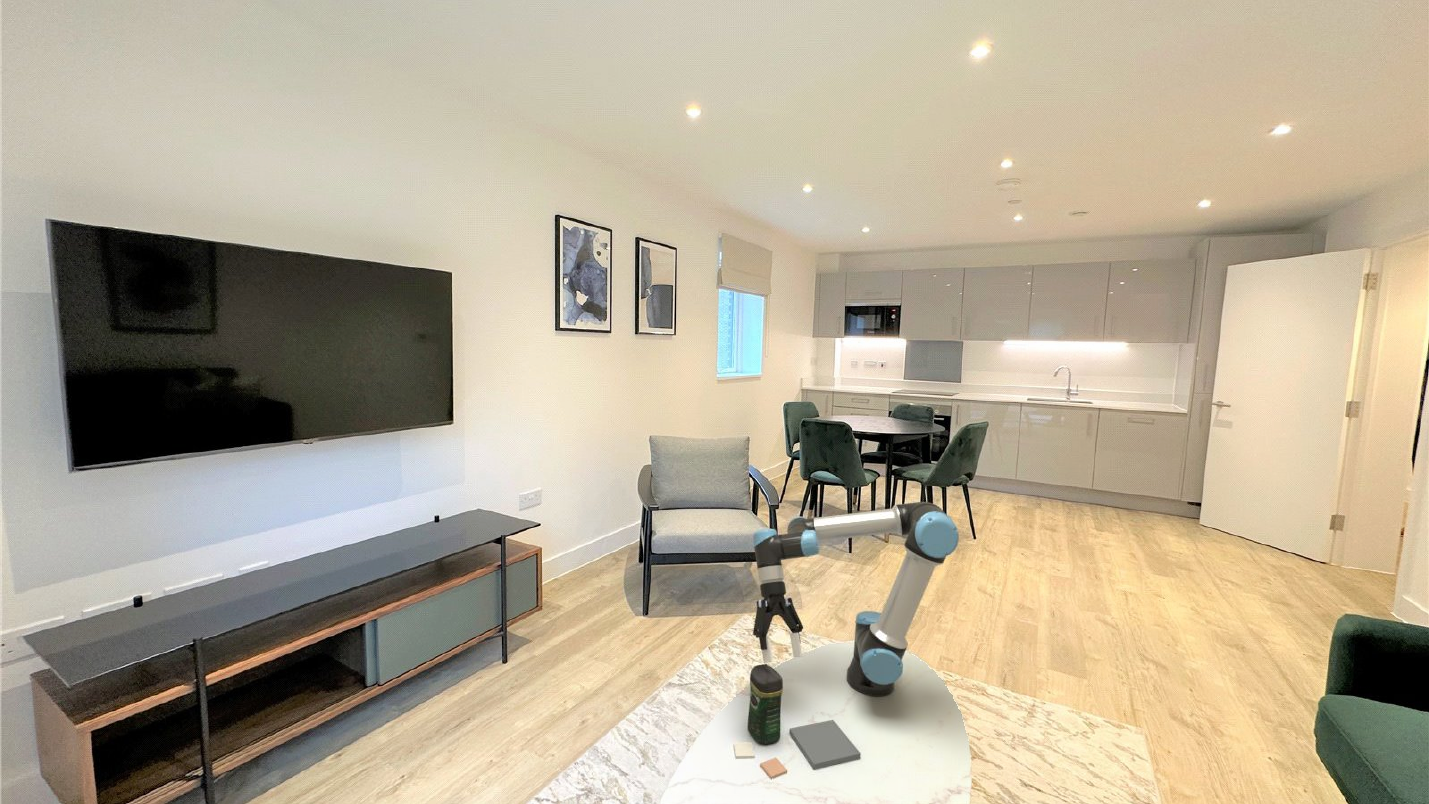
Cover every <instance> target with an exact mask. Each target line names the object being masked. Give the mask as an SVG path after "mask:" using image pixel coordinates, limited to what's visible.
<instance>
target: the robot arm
mask: <svg viewBox="0 0 1429 804" xmlns="http://www.w3.org/2000/svg"><path fill="white" fill-rule="evenodd" d="M786 531H787V533H785V534H778V532H777V530H776V529H774V528H767V529H766V528H765V529H760V530H756V531H755V532H754V533H753V545H754V546H753V548H754V549H753V550H754V555H755V561H756V567H757V573H758V581H759V583H761V584H760V585H759V590H760V596H761V598H763V599H759V600H756V611H755V612H756V613H755V617H754V618H755V619H754V623H753V624H754V625H753V632H752V635H753V636H755V638H758V640H759V645H760V649H761V650H760V651H761V652H762V660H763V662H762V663H763V664H767V663H768V664H769V663H773V662H774V661H773V656H772V655H773V653H772V648H771V642H770V641H771V640H770V636H768V633H769V629H770V627H771V624H772V621H773V618H774V617H775V616H779V617H780V618H781V619H782V620H783V621H784V624H785V625H786V626H787V628H788V629H789V630H790V632H791V633H789V637H790V643H791V648H792V649H791V650H792V657H793V658H802V657H803V653H802V652H803V651H802V645H801V636H800V633H802V631H803V630H804V626H803V623H802V621H801V619H800V616H799V615H798V612H797V611H796V610H797V609H796V608H795V606H794V603H793V598H791V597H786V598H785V595H786V594H787V589H786V582H785V581H783V580H785V575H784V570H783V565H782V561H784V560H791V559H799V558H805V557H806V558H808V557H812V556H817V555H819V553H820V547H819V542H822V541H825V542H826V541H833V540H841V539H851V538H862V537H869V536H877V535H887V534H898V535H899V536H906V539H905V542H904V544H903V546H904V549H905V551H906V553H905V556H904V557H903V561H902V563H901V564H900V565H901V566H900V568H899V570H898V573H897V575H896V576H895V577H896V578H895V580H894V581H893V585H892V587H891V590H889V594H888V596H887V599H886V601H885V604H884V606H883V609H882V611H881V612H878V611H874V610H873V611H872V610H871V611H870V610H865V611H860V612H858V613H857V614H856V617H855V627H854V628H855V629H854V630H855V631H854V642H853V643H854V644H853V656H852V659H851V661H850V664H849V666H848V668H847V669H846V682H847V683H848V684H849V686H850V687H851V688H852V689H854V690H855V691H857V692H858V693H861V694H864V695H867V696H871V697H884V696H887V695H890V694H891V693H892V692H893V691H894V690H895V682H897V681H898V680H899V679H900V678H901V677H902V674H903V671H904V664H903V658H904V655H905V653H906V651H907V648H908V646H909V644H908V641H907V639H906V636H907V635H908V632H909V629H910V628H911V624H912V622H913V620H914V618H915V615H916V613H917V611H918V608H919V606H920V604H921V602H922V599H923V596H924V594H925V593H926V590H927V587H928V585H929V583H930V580H931V578H932V576H933V573H934V571H935V568H936V567H937V566H940V565H944V562H945V560H946V558H947V557H948V556H950V555H951V554H953V553H954V552H955V550H956V549H957V547H958V545H959V541H960V540H959V539H960V535H959V534H960V533H959V531H958V528H957V526H956V524H955V522H954V520H953V519H952V518H951V517H950V516H949V515H947V513H945V511H944V510H943V509H942V508H941V507H940V506H938V505H936V504H934V503H932V502H928V501H916V502H909V503H901V504H900V503H899V504H894V505H893V506H892V508H886V509H879V510H878V509H876V510H871V511H861V512H860V511H859V512H854V513H853V512H852V513H846V514H845V513H844V514H838V515H829V516H828V515H827V516H820V517H814V518H813V517H812V518H806V517H804V516H799V515H798V516H796V517H793V518H792V519H790V521H789V523H788V525H787V530H786Z"/></svg>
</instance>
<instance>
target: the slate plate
mask: <svg viewBox="0 0 1429 804" xmlns="http://www.w3.org/2000/svg"><path fill="white" fill-rule="evenodd" d="M788 734H789V736H791V738H792V740H793V741H794V743H795V744H796V746H797V747H798V749H799V750H800V751H801V753H802V754H803V756H804V758H805V759H806V761H807V762H808V763H809V765H810V767H811V768H812V770H818V769H821V768H826V767H830V766H835V765H840V764H844V763H847V762H852V761H857V760H860V759H861V757H862V756H861V754H862V753H861V752H860V751H859V749H858V748H857V747H856V746H855V744H854V743H853V742H852V741H851V740H850V739H849V737H848V736H847V735H846V733H845V732H844V731H843V730H842V729H841V728H840V726H839V725H838V724H837V723H836V721H835V719H831V720H830V719H829V720H824V721H820V722H816V723H815V722H814V723H810V724H806V725H801V726H796V727H790V728H789V733H788Z"/></svg>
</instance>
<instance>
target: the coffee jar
mask: <svg viewBox="0 0 1429 804" xmlns="http://www.w3.org/2000/svg"><path fill="white" fill-rule="evenodd" d="M783 683H784V682H783V677H782V676H781V674H780V673H779V672H778V671H777V670H775V668H774V667H772V666H770V665H768V664H767V663H763V664H757V665H754V666H753V667H752V669H751V672H750V676H749V685H750V686H749V687H750V688H749V690H750V695H749V704H748V705H749V707H748V715H747V731H748V732H749V733H750V735H751V736H752V737H753V739H754V740H755V741H756V742H757V743H759V744H765V745H769V744H773V743H775V742H777V741H779V740H780V738H781V714H782V713H781V711H782V710H781V706H782V705H781V703H782V702H781V701H782V694H783V689H784V684H783Z"/></svg>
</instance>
